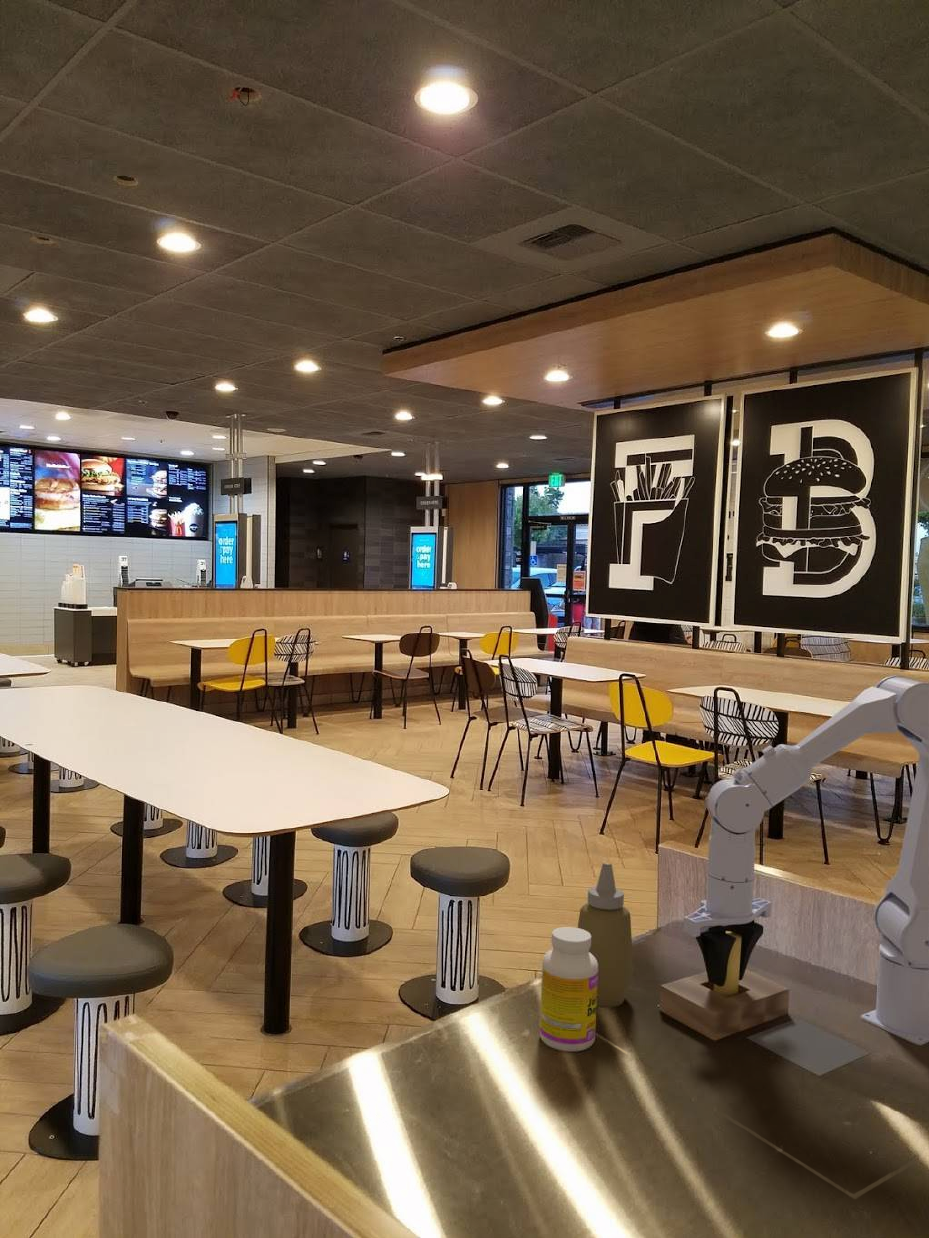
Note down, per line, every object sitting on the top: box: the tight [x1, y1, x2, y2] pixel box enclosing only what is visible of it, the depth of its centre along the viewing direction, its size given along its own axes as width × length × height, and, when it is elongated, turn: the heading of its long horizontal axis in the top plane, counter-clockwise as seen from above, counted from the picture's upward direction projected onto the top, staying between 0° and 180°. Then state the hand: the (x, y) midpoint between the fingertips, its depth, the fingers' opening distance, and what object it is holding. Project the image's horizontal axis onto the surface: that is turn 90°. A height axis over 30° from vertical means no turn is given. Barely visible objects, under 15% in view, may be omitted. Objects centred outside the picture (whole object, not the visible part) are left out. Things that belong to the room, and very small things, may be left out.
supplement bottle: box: [539, 926, 598, 1053], centre depth 109 cm, size 7×7×13 cm
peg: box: [713, 931, 742, 998], centre depth 117 cm, size 3×3×9 cm
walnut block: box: [658, 968, 790, 1042], centre depth 118 cm, size 14×9×4 cm, turn 124°
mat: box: [746, 1017, 871, 1077], centre depth 110 cm, size 10×10×1 cm
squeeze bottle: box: [577, 862, 635, 1008], centre depth 120 cm, size 8×8×18 cm
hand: (725, 980), depth 118 cm, fingers closed on peg, 3 cm apart
